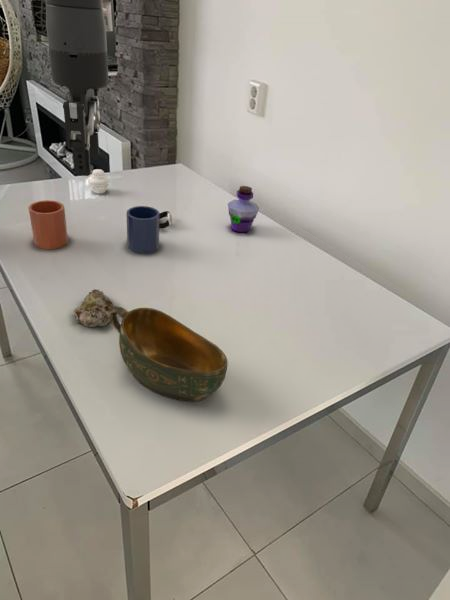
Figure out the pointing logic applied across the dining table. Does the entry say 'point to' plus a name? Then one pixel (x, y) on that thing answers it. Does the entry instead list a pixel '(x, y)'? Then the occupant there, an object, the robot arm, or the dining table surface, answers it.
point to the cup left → (48, 224)
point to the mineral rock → (94, 309)
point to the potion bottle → (242, 210)
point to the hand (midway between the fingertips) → (87, 165)
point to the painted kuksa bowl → (168, 354)
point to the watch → (168, 222)
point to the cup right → (143, 229)
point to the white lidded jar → (98, 181)
